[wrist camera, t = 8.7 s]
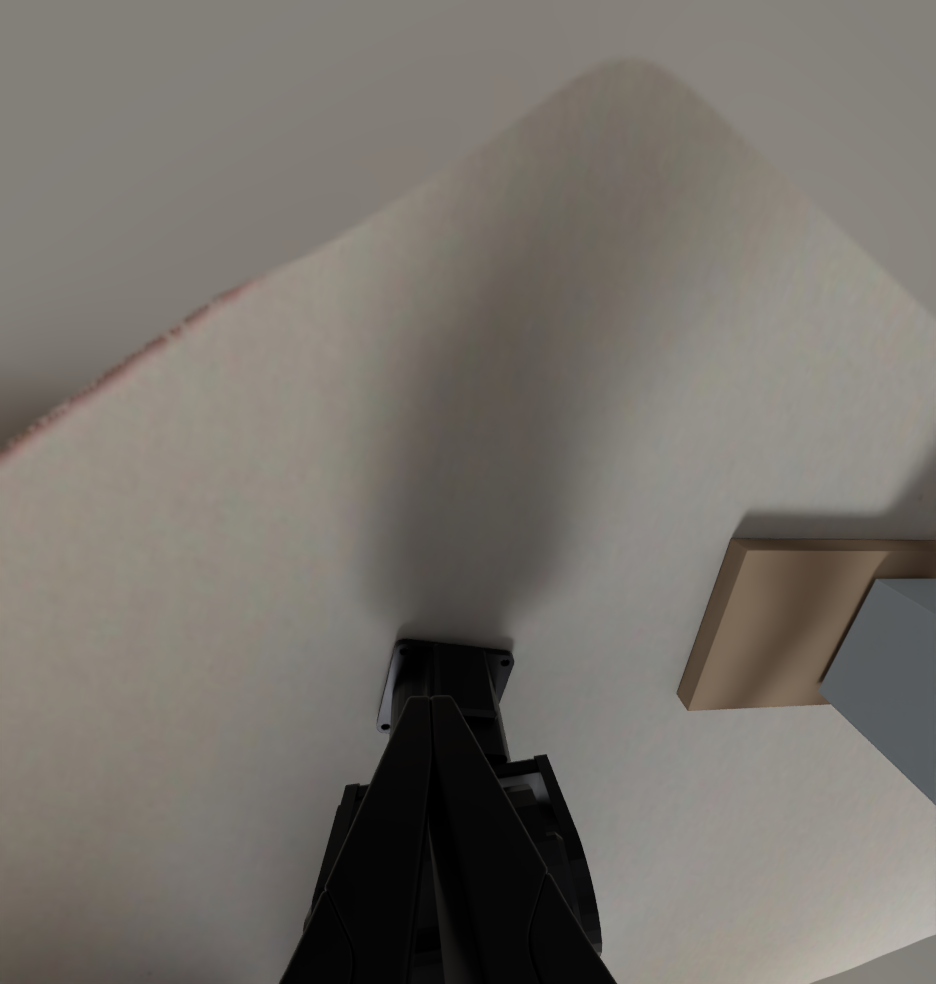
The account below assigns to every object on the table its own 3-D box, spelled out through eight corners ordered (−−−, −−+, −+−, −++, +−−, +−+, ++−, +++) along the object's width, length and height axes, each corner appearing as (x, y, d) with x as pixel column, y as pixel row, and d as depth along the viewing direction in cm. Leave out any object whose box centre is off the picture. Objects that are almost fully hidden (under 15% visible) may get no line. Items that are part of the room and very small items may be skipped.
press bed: (676, 694, 27) (760, 820, 20) (731, 538, 23) (859, 634, 16) (950, 683, 30) (1102, 791, 23) (1045, 541, 25) (1265, 625, 19)
